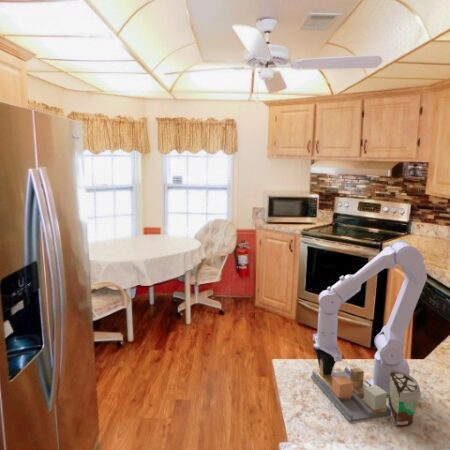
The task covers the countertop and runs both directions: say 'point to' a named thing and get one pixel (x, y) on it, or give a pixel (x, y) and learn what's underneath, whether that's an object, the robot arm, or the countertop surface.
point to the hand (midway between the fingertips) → (325, 372)
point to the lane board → (349, 401)
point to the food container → (402, 397)
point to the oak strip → (328, 380)
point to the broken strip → (361, 387)
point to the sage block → (375, 397)
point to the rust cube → (342, 386)
